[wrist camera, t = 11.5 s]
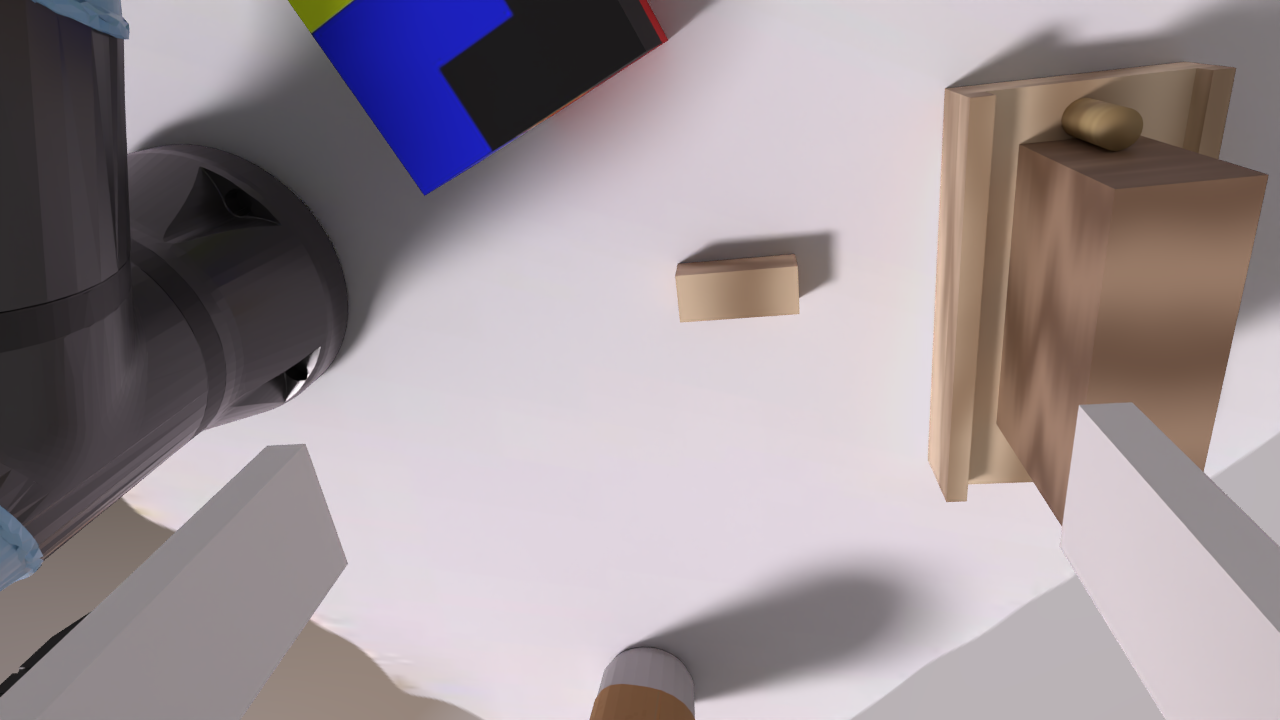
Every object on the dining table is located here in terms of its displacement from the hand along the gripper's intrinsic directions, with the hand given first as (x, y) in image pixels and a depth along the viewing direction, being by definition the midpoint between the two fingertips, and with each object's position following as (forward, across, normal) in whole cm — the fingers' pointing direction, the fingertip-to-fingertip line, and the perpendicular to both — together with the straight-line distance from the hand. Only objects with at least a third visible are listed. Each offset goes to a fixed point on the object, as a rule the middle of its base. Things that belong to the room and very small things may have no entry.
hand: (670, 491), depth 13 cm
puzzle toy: (+27, -8, +9) cm, 30 cm away
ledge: (+27, +16, -7) cm, 32 cm away
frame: (+24, +16, -6) cm, 30 cm away
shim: (+27, +1, -6) cm, 27 cm away
